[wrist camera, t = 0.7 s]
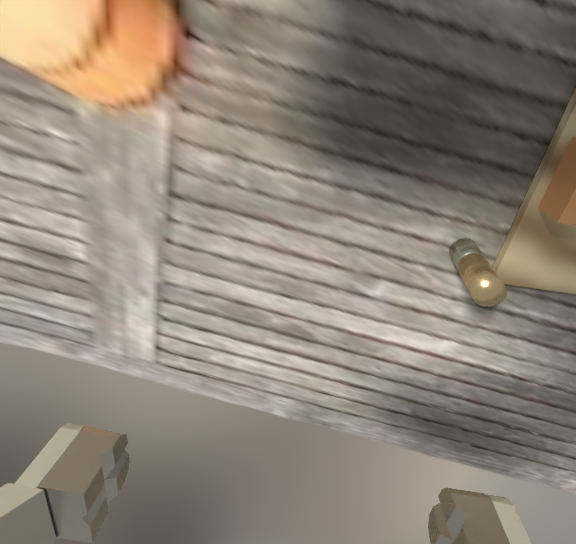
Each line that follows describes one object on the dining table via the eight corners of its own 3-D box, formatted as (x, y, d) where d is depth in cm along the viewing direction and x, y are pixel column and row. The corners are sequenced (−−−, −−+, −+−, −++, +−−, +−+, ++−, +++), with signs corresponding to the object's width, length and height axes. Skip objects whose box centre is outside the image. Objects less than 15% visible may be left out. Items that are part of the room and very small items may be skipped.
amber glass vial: (454, 236, 41) (479, 278, 33) (480, 240, 41) (512, 283, 33) (445, 259, 42) (468, 304, 35) (471, 262, 42) (499, 308, 35)
